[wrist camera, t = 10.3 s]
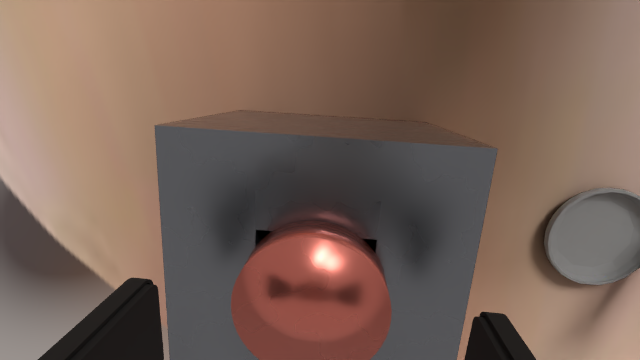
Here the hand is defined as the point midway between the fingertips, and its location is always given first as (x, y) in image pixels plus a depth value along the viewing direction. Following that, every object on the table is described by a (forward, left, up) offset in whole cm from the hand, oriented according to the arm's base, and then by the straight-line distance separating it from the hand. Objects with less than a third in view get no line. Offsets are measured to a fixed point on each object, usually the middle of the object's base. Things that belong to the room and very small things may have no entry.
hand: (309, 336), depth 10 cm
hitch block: (0, +1, -14) cm, 14 cm away
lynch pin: (0, 0, -13) cm, 13 cm away
